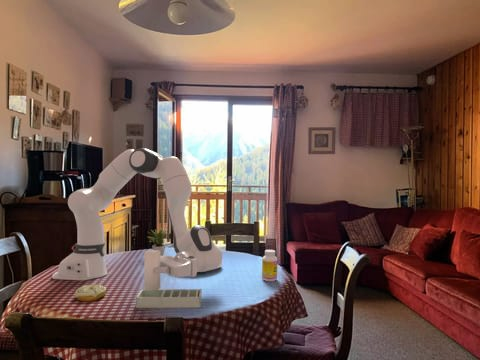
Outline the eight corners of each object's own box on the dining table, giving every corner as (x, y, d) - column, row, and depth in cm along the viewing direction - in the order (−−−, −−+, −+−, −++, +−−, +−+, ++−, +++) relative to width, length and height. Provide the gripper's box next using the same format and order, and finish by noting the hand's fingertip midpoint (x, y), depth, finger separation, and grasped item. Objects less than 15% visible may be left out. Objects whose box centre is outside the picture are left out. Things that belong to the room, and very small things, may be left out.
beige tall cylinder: (142, 290, 128) (142, 253, 128) (145, 285, 133) (145, 250, 133) (159, 290, 128) (159, 253, 128) (161, 285, 134) (161, 250, 134)
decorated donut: (69, 302, 131) (69, 291, 131) (82, 292, 142) (82, 283, 142) (99, 302, 131) (99, 292, 131) (109, 293, 142) (109, 283, 142)
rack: (136, 307, 126) (136, 297, 126) (141, 298, 135) (141, 289, 135) (200, 307, 128) (200, 297, 127) (201, 298, 136) (201, 289, 136)
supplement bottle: (274, 282, 159) (275, 252, 158) (260, 280, 161) (260, 251, 161) (278, 278, 165) (279, 249, 165) (264, 276, 167) (264, 248, 167)
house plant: (146, 253, 211) (147, 225, 211) (171, 253, 213) (171, 225, 213) (143, 259, 197) (143, 228, 197) (169, 259, 199) (169, 228, 198)
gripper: (171, 250, 147) (138, 254, 138) (198, 259, 131) (163, 265, 122) (170, 266, 147) (137, 271, 138) (198, 277, 131) (163, 284, 122)
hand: (150, 268), depth 130 cm, fingers closed on beige tall cylinder, 6 cm apart
